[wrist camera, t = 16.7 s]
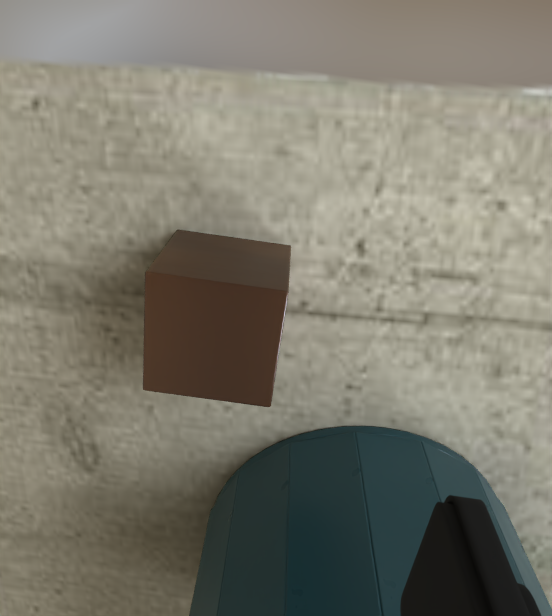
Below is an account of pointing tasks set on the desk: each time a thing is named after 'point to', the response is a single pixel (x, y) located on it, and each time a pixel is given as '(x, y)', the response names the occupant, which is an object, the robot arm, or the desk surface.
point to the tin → (336, 525)
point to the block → (215, 317)
